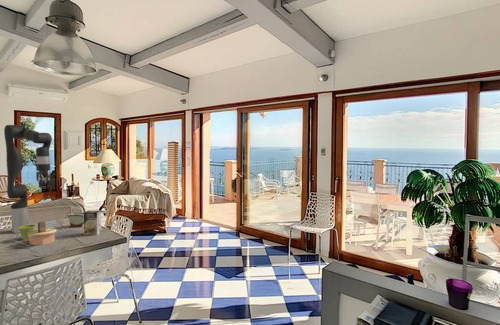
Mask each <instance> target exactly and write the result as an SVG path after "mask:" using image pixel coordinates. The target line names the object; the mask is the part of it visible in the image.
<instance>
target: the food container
mask: <svg viewBox="0 0 500 325" xmlns="http://www.w3.org/2000/svg"><path fill="white" fill-rule="evenodd" d="M67 216H68V220H69V227H70V228H71V227H72V228H84V212H74V213H69V214H68V215H67Z"/></svg>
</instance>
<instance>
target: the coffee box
mask: <svg viewBox="0 0 500 325" xmlns="http://www.w3.org/2000/svg"><path fill="white" fill-rule="evenodd" d="M101 212H102V211H101V210H86V211H84V212H83V213H84V226H83V232H84V233H83V236H98V235H100V234H102V213H101Z"/></svg>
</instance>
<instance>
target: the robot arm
mask: <svg viewBox="0 0 500 325" xmlns="http://www.w3.org/2000/svg"><path fill="white" fill-rule="evenodd" d="M3 131H4V132H3V133H4V141H5V147H6V148H5V149H6V169H7V170H6V171H7V183H6V190H7V191H6V192H7V194H6V195H7V198H8V199H9V200H12V199H13V200H14V199H19V200H18V201H16V202H14V203H13V202H12V204H11V205H10V214H11V233H13V234H21V232H20V229H19V227H21V226H24V225H29V214H28V213H29V211H28V210H29V209H28V187H27V185H25V184H17V185H15V181H16V179H17V177H18V176H19V174H21V172H22V170H23V168H24V162H25V161H24V156H23V154H22V153H21V152H20V151H19V149H18V148H17V147H16V145H15V143H14V142H15V140H14V139H25V140H27V141H30V142H32V143H33V144H42V146H39V147H36V149H35V155H36V157H35V166H36V168H35V169H36V176H35V177H36V181H37V183H38V188H44V187H45V189H50V187H51V186H50V183H51V182H52V181H53V180H52V172H50V171H51V159H50V158H51V157H50V148H51V143H52V139H53V138H52V135H51V134H50V133H48V132H39V131H36V130H32V129H29V128H26V127H25V126H23V125H20V124H19V125H17V124H6V125H5V126H4V129H3Z"/></svg>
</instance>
